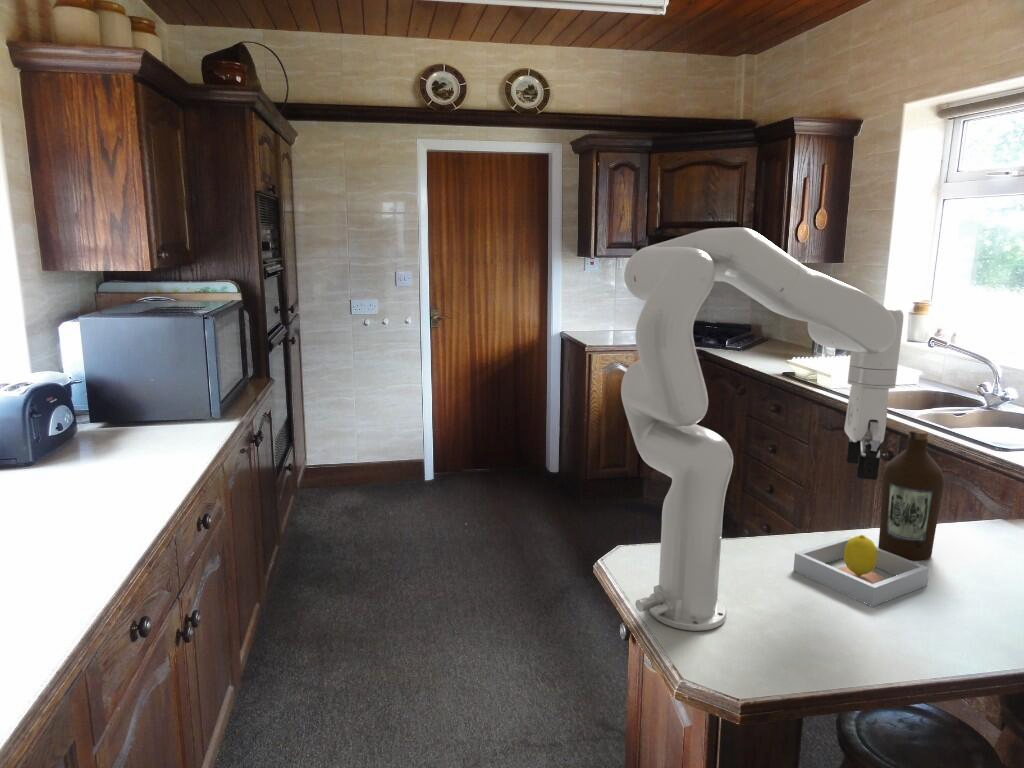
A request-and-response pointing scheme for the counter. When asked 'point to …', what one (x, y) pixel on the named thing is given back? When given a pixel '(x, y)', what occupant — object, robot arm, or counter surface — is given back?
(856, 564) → the lemon
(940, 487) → the brown glass bottle
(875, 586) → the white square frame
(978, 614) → the counter surface
